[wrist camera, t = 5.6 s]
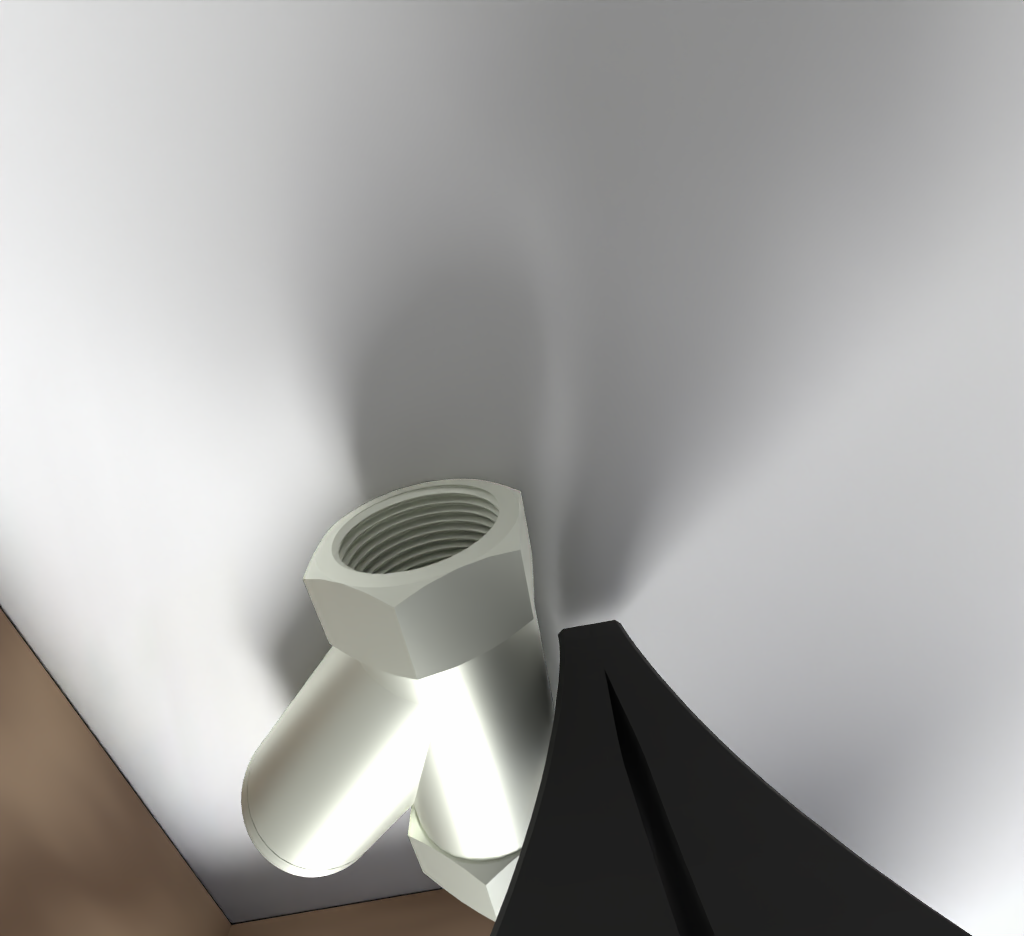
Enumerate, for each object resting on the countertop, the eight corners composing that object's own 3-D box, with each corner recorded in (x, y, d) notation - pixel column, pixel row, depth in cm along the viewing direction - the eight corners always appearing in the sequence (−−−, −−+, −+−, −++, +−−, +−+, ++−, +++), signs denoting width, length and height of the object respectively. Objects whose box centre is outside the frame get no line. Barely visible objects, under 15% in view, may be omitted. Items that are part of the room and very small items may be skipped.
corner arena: (593, 886, 16) (627, 1077, 12) (210, 951, 16) (128, 1158, 12) (508, 431, 10) (526, 535, 6) (-112, 545, 10) (-469, 715, 6)
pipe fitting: (325, 762, 14) (568, 738, 13) (255, 945, 10) (586, 922, 9) (206, 509, 10) (519, 463, 10) (40, 643, 7) (519, 581, 6)
